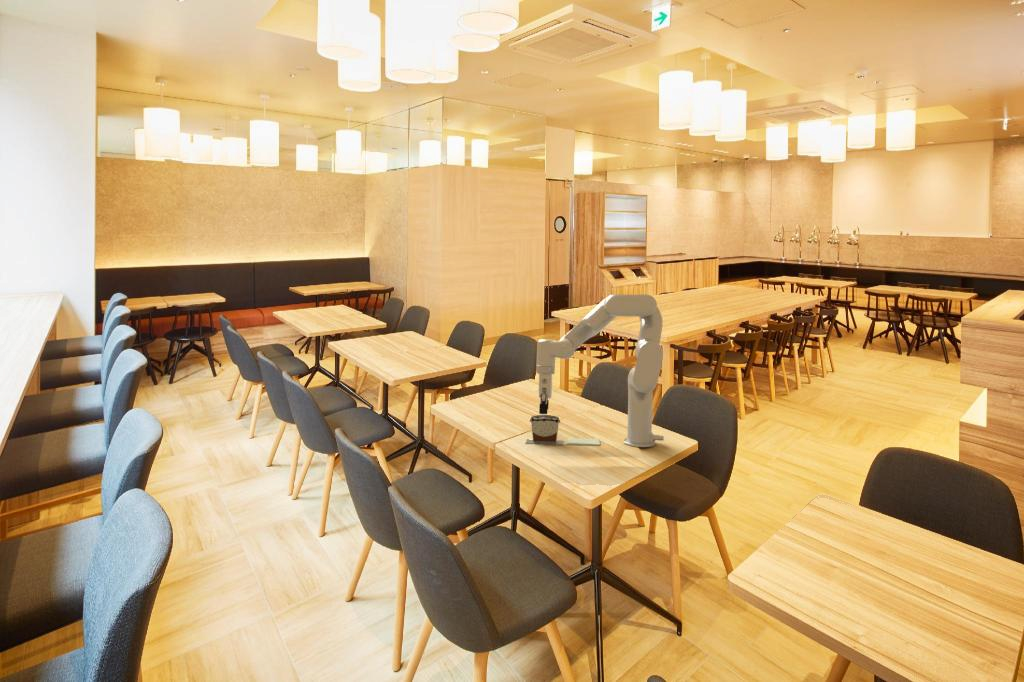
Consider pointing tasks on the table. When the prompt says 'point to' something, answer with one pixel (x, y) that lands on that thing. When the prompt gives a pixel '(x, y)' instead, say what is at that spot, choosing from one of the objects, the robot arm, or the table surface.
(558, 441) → the tile
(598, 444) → the pad
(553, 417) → the food container
